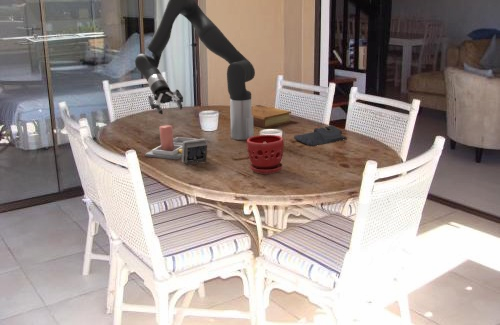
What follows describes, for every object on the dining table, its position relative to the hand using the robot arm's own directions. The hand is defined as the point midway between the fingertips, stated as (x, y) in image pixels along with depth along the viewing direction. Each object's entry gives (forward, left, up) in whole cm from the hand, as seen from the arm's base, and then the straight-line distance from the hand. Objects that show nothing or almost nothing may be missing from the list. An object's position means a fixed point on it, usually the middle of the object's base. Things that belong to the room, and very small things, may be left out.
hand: (171, 110), depth 243 cm
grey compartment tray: (-7, +11, -14) cm, 19 cm away
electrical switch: (-23, +24, -14) cm, 36 cm away
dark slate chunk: (-58, -24, -14) cm, 65 cm away
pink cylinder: (-7, +17, -13) cm, 22 cm away
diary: (-22, -48, -14) cm, 55 cm away
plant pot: (-51, +24, -14) cm, 58 cm away
